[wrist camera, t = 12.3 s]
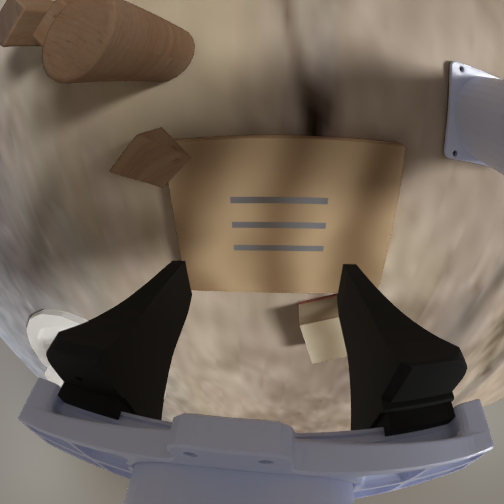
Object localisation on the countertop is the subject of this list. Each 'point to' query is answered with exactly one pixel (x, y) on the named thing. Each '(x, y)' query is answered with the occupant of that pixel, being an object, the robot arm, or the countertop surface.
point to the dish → (50, 335)
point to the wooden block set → (107, 61)
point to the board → (284, 210)
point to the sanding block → (322, 328)
